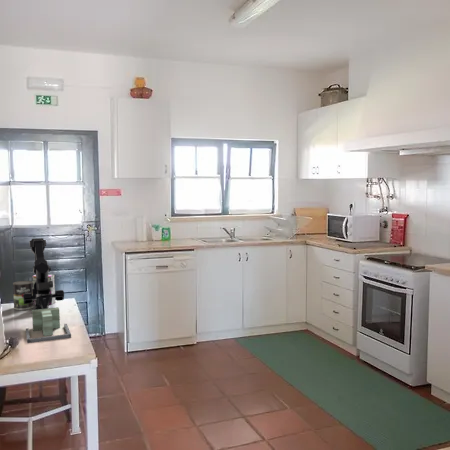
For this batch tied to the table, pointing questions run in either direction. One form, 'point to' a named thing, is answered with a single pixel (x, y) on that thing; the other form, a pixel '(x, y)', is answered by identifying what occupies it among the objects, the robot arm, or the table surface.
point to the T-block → (46, 320)
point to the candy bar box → (52, 290)
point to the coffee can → (18, 293)
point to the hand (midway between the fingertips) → (45, 311)
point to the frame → (48, 336)
